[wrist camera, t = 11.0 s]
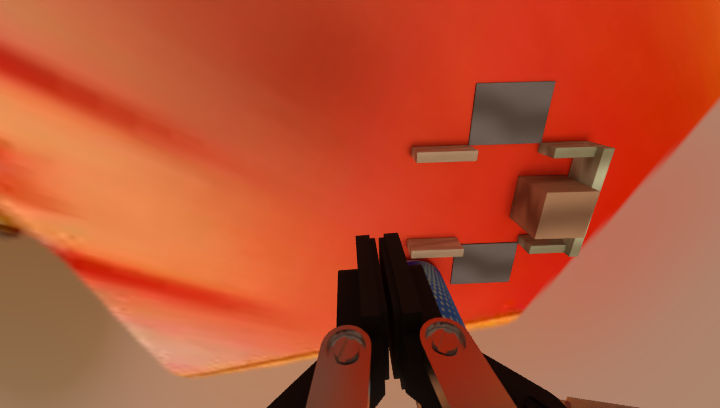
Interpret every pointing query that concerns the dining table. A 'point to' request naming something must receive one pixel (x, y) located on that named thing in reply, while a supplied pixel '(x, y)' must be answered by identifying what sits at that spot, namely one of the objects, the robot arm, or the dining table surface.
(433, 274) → the beer can
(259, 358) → the dining table surface
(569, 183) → the walnut block
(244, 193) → the dining table surface
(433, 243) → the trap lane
